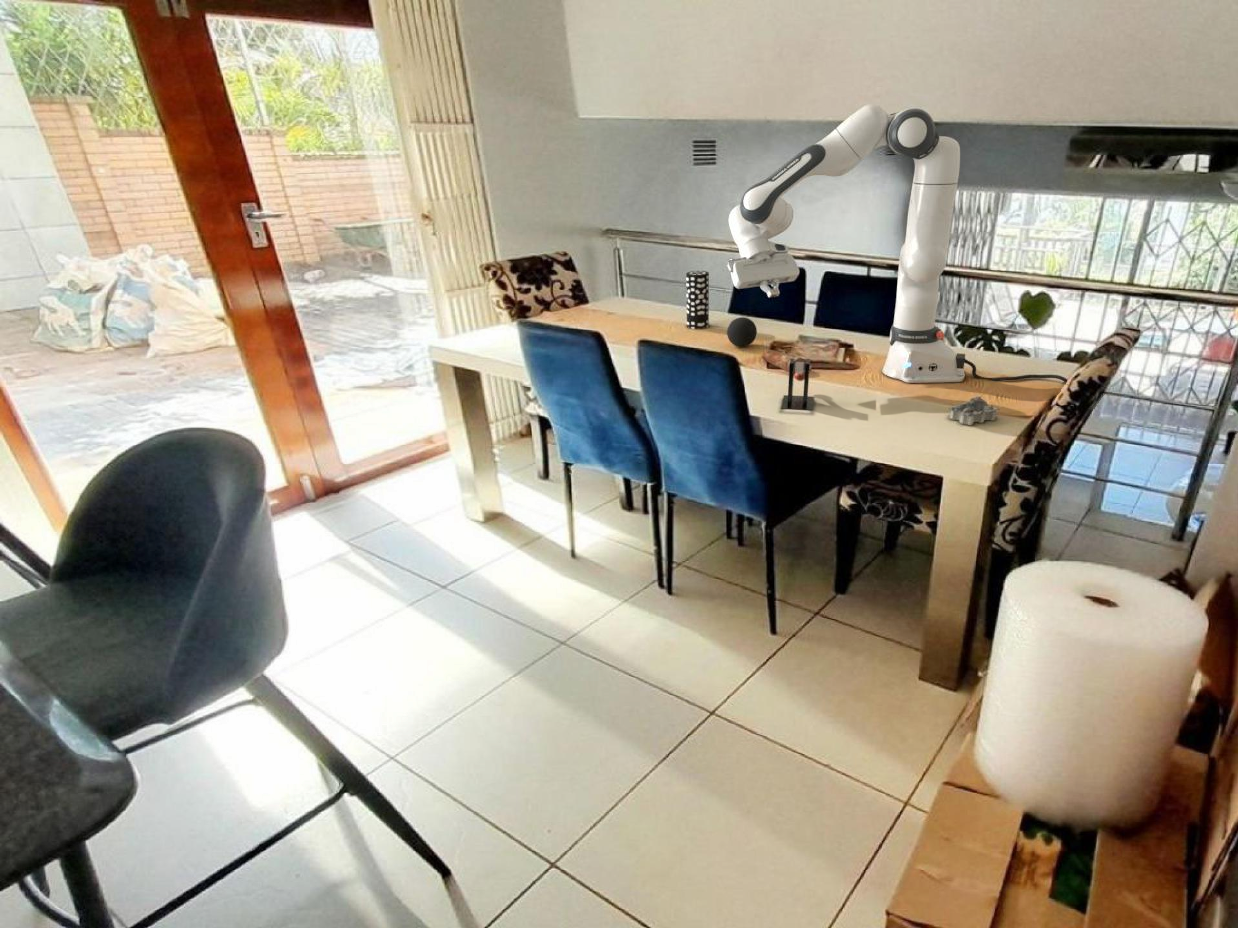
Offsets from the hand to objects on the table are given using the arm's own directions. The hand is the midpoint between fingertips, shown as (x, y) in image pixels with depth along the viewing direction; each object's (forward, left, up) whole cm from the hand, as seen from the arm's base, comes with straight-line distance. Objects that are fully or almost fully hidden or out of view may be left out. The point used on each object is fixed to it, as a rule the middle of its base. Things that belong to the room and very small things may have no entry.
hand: (774, 295), depth 199 cm
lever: (-9, +17, -18) cm, 26 cm away
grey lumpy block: (-52, +23, -25) cm, 62 cm away
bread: (-2, -11, -25) cm, 28 cm away
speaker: (+13, -33, -25) cm, 44 cm away
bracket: (-9, +21, -25) cm, 34 cm away
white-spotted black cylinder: (+33, -58, -25) cm, 72 cm away
